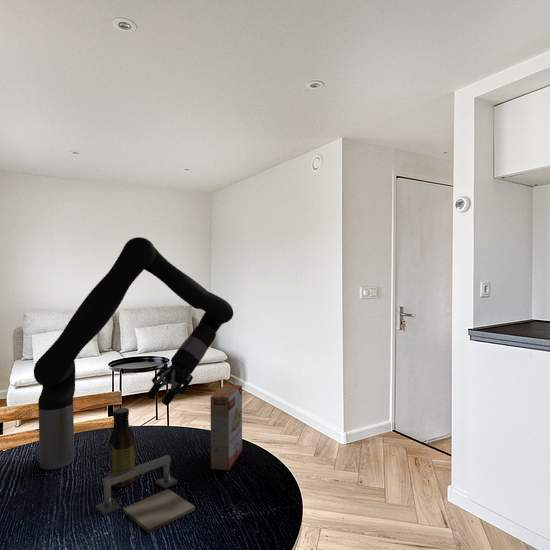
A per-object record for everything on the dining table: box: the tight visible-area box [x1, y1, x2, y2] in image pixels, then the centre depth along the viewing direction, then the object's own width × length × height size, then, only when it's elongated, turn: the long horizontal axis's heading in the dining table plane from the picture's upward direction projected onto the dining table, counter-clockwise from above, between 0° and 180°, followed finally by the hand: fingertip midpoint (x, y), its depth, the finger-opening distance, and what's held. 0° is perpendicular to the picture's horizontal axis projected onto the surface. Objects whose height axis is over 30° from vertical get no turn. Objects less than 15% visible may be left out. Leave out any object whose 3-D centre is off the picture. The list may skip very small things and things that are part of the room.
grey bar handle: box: [95, 454, 178, 516], centre depth 105 cm, size 4×20×7 cm, turn 136°
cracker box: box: [210, 384, 243, 471], centre depth 125 cm, size 14×6×21 cm, turn 168°
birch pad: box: [122, 488, 196, 534], centre depth 98 cm, size 12×12×1 cm
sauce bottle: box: [108, 407, 136, 488], centre depth 112 cm, size 7×6×20 cm
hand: (156, 400), depth 119 cm, fingers open, 8 cm apart
